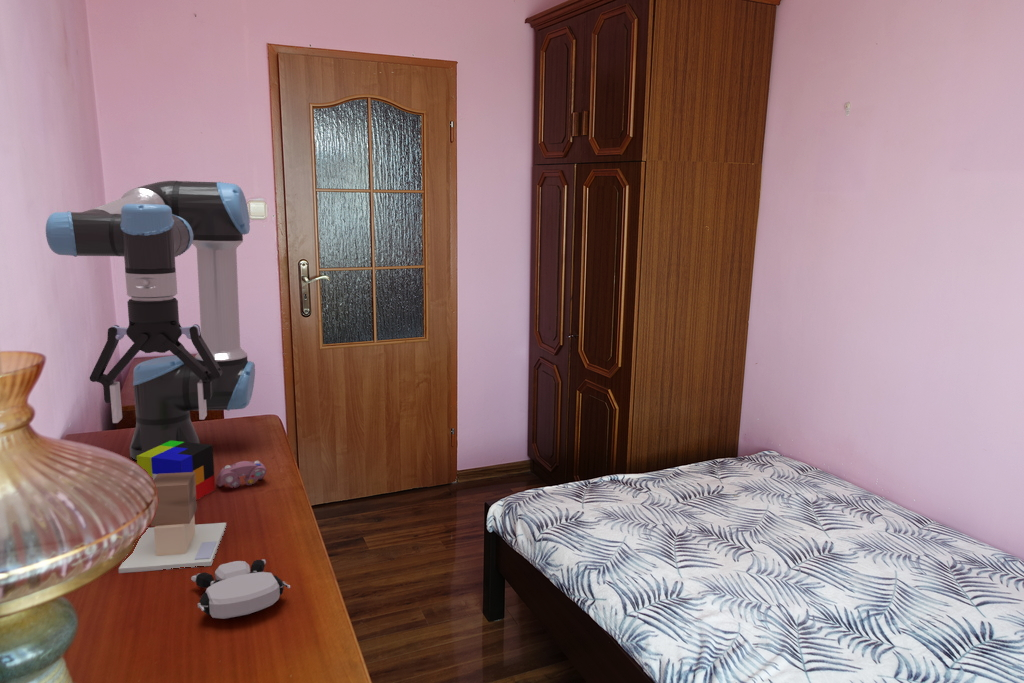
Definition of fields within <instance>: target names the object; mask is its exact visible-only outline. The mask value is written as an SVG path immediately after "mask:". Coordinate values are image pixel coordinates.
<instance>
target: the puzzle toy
mask: <svg viewBox="0 0 1024 683" xmlns="http://www.w3.org/2000/svg"><path fill="white" fill-rule="evenodd" d="M137 464H138V465H140V466H141V467H142V468H143V469H145V470H146V471H147V472H148V474H149V475H150V476H151V477H152V478H153V480H154V479H155V477H156V476H157V475H158V474H165V473H184V472H195V482H196V500H197V499H199V498H200V499H202V498H203V497H205V496H207V495H208V494H210V493H212V492H213V491H215V490H216V489H215V488H216V484H215V465H214V464H215V463H214V446H213V444H209V443H207V444H206V443H200V442H199V443H189V442H180V441H169V442H166V443H164V444H162V445H160V446H158V447H155V448H153V449H151V450H149V451H146V452H144V453H142V454H140V455H138V456H137V461H136V465H137ZM211 491H212V492H211ZM206 494H207V495H206ZM204 495H205V496H204ZM201 497H202V498H201ZM200 499H199V500H200ZM197 501H198V500H197Z"/></svg>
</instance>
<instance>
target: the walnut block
mask: <svg viewBox="0 0 1024 683" xmlns="http://www.w3.org/2000/svg"><path fill="white" fill-rule="evenodd" d="M153 481H154V482H155V485H156V488H157V490H158V497H159V503H158V508H157V511H156V515H155V517H154V519H153V521H152V523H151V522H150V526H151V527H155V526H161V525H176V524H190V522H191V520H192V518H193V516H195V514H196V513H197V512H196V511H197V510H198V506H197V504H198V503H197V501H198V500H197V501H196V482H195V472H184V473H165V474H158V475H157V476H156V477H155V479H154V480H153Z"/></svg>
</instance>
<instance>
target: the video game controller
mask: <svg viewBox="0 0 1024 683" xmlns="http://www.w3.org/2000/svg"><path fill="white" fill-rule="evenodd" d="M266 474H267V468H266V466H265V465H264V463H262V462H261V461H260V460H254V461H250V460H249V461H247V460H241V461H238V462H235V463H232V464H231V465H229V464H227V465H225V466H224V467H222V468H221V469H220V471H219V473H218V474H217V477H216V485H217V486H218V487H223V486H224V485H228V486H229V487H230V488H231V489H235V488H238V487H240V485H241V477H244V483H245V485H247V486H253V485H254V484H255V483H256V482H257V481H258V480H263V479H264V477H265V475H266ZM252 484H253V485H252ZM233 487H234V488H233Z"/></svg>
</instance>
